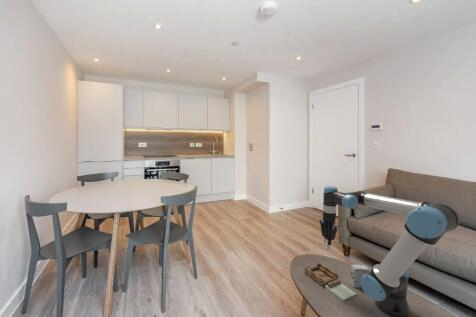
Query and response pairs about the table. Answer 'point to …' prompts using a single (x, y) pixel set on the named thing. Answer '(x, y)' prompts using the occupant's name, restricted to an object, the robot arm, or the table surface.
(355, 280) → the ink box
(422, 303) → the table surface
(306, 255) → the table surface
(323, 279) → the walnut box
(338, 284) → the lid
